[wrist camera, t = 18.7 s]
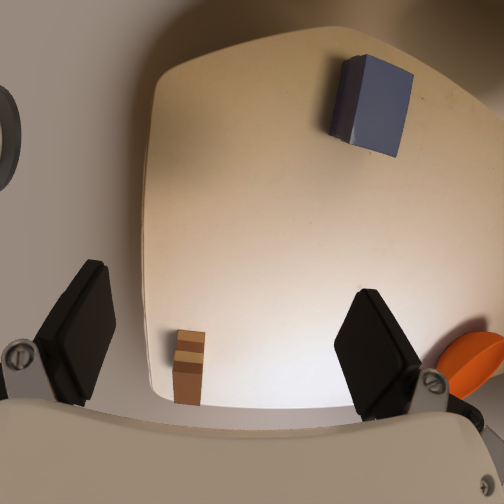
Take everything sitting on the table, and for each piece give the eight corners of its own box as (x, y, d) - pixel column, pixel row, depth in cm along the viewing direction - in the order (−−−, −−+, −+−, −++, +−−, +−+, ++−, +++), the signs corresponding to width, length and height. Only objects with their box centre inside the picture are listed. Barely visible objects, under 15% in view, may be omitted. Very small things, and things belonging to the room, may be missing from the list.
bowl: (501, 321, 56) (519, 343, 47) (449, 380, 67) (462, 404, 58) (465, 307, 50) (488, 336, 41) (402, 381, 61) (416, 410, 52)
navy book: (385, 153, 29) (396, 157, 27) (340, 140, 28) (348, 143, 26) (402, 75, 24) (414, 74, 22) (356, 56, 24) (366, 53, 21)
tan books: (202, 368, 51) (200, 406, 43) (179, 365, 50) (174, 404, 43) (205, 332, 46) (202, 374, 39) (178, 329, 46) (171, 371, 38)
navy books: (370, 146, 33) (386, 153, 29) (328, 135, 32) (341, 139, 28) (385, 74, 28) (403, 73, 24) (343, 59, 27) (358, 54, 23)
